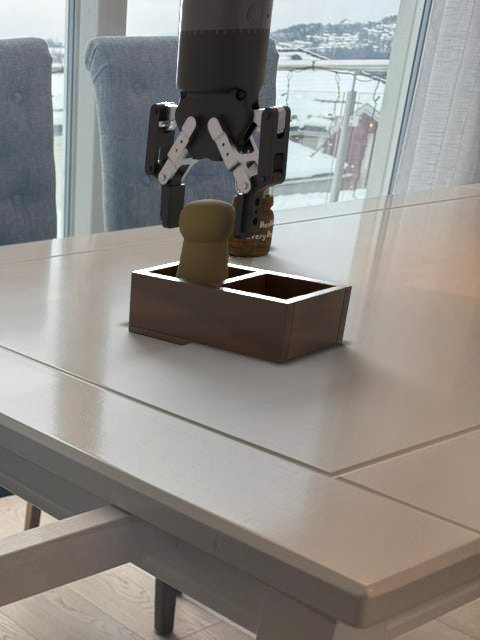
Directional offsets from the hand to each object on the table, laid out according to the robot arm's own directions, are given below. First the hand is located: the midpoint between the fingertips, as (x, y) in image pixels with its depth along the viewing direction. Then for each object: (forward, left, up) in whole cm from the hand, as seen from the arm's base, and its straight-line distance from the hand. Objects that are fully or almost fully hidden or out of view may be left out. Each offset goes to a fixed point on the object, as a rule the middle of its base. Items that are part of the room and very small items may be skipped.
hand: (206, 232), depth 87 cm
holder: (0, +4, -9) cm, 10 cm away
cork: (0, 0, -9) cm, 9 cm away
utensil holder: (-35, -21, -9) cm, 42 cm away
